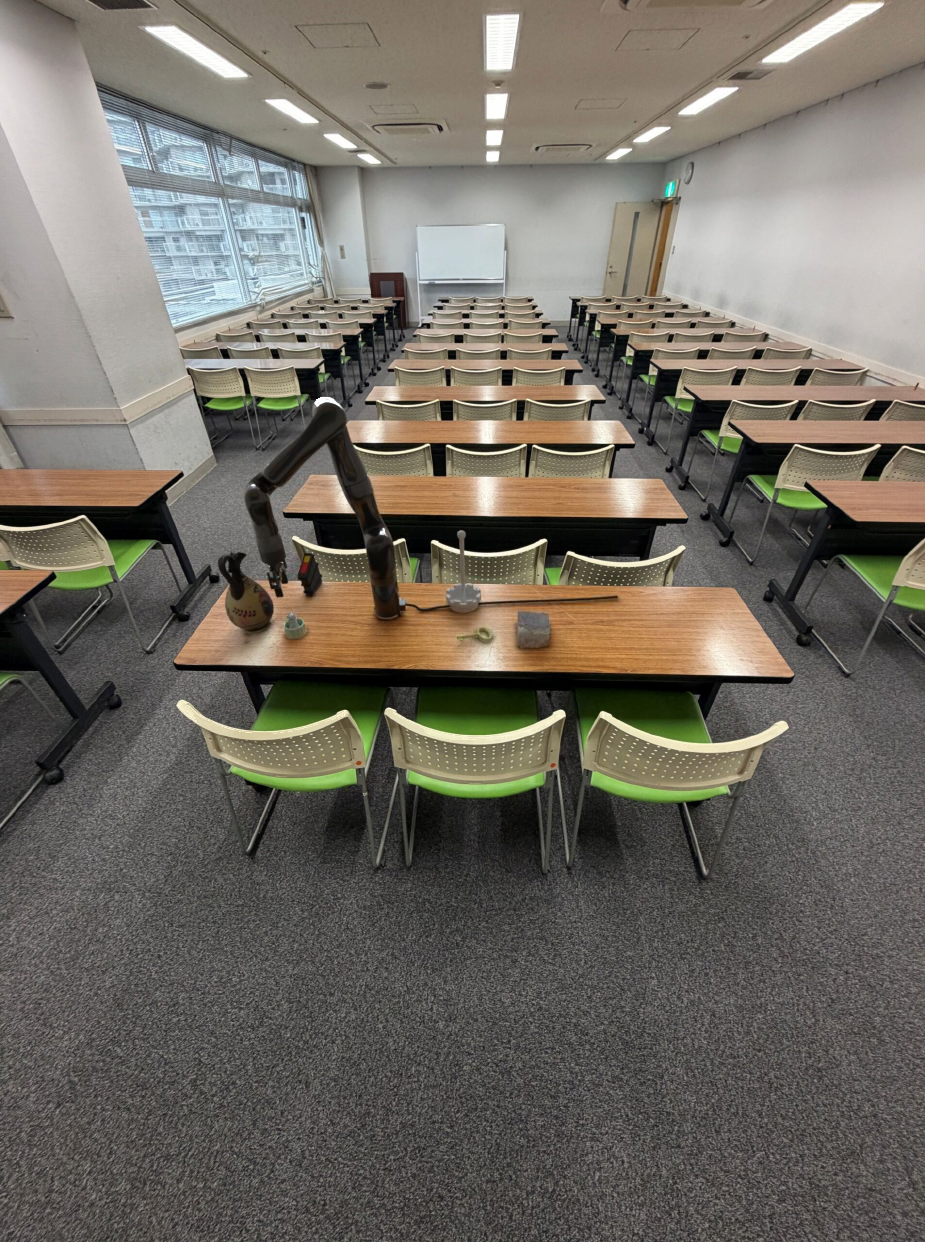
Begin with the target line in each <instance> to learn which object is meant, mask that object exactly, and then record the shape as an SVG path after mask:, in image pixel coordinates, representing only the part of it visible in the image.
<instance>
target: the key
mask: <svg viewBox="0 0 925 1242" xmlns="http://www.w3.org/2000/svg"><path fill="white" fill-rule="evenodd" d="M481 631H484V632H485V633H487V634H488V636H489V637H484V636H483V635H481V633H480V632H481ZM473 638H475V639H477V638H478V639H479V640H480V641H482V642H485V643H487V642H491V641H492V639H493V634H492V631H491V630H490V629H488V628H487V627H484V626H480V627H478V628H477V630H476V632H474V633H470V634H469V633H468V634H460V635H456V639H457V640H458V641H459V642H464V639H473Z"/></svg>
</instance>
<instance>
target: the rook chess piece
mask: <svg viewBox="0 0 925 1242" xmlns="http://www.w3.org/2000/svg"><path fill="white" fill-rule="evenodd" d="M286 618H287V620H288V621H289V622H290V628H289V629H295V628H298V627H300V625H298V623H297V618H298V617H297V614H296V612H294V611H290V612H288V613H287V615H286Z"/></svg>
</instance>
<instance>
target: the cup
mask: <svg viewBox="0 0 925 1242" xmlns="http://www.w3.org/2000/svg"><path fill="white" fill-rule="evenodd" d="M296 618H297V623H298V625H300V627H298V628H295V629H289V628H290V622H289V621H288V620H289V619H287V620H286V621H284V623H283V629H284V633H285V637H286V638H287V639H289V640H299V639H302V638H303V637H304V636H305V635H306V634H307V628H306V624H305V621H304V619H303V618H301V617H296Z"/></svg>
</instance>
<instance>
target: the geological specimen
mask: <svg viewBox="0 0 925 1242" xmlns="http://www.w3.org/2000/svg"><path fill="white" fill-rule="evenodd" d="M516 615H517V616H516V617H517V618H516V632H517V634H516V635H517V648H520V649H530V650H531V649H539V648H543V647H549V646H550V639H551V625H550V623H551V622H550V613H546V612H535V611H524V610H517V614H516Z"/></svg>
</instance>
